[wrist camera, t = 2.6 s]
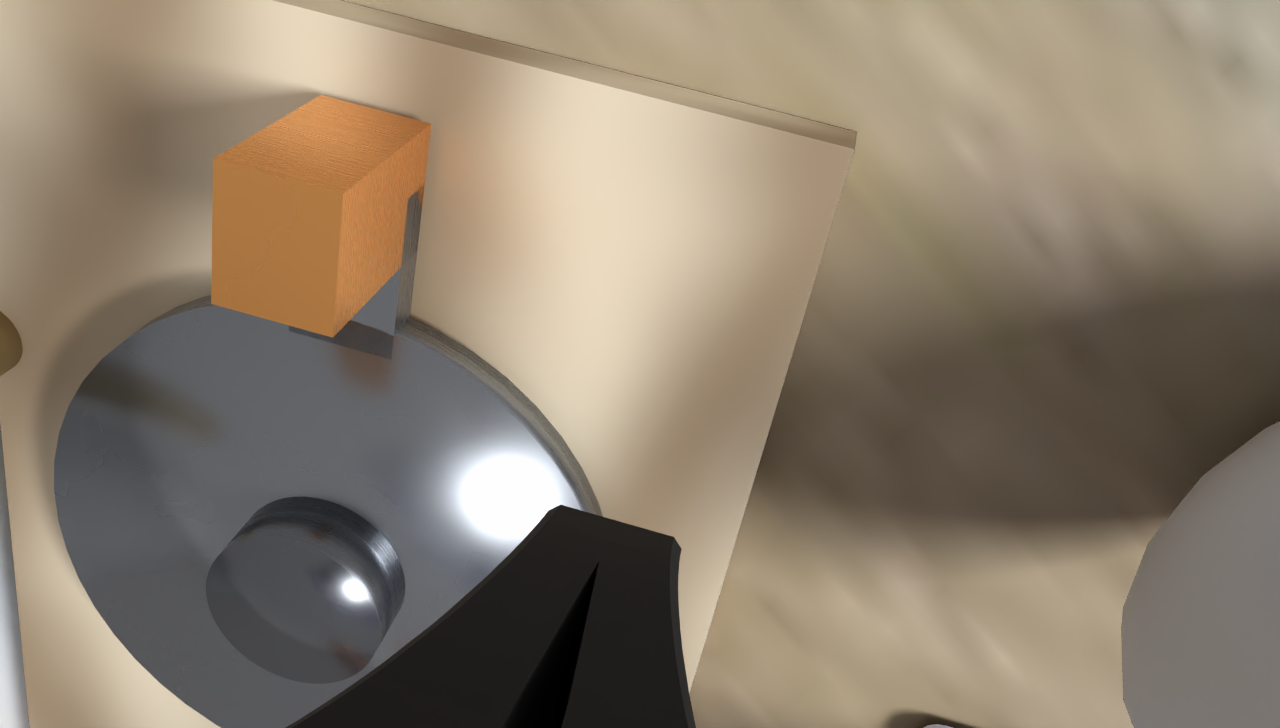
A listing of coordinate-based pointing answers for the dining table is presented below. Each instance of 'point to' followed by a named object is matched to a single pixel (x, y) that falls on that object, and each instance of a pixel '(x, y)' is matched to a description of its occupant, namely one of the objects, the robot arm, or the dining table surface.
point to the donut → (1211, 602)
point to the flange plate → (299, 438)
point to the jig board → (445, 266)
